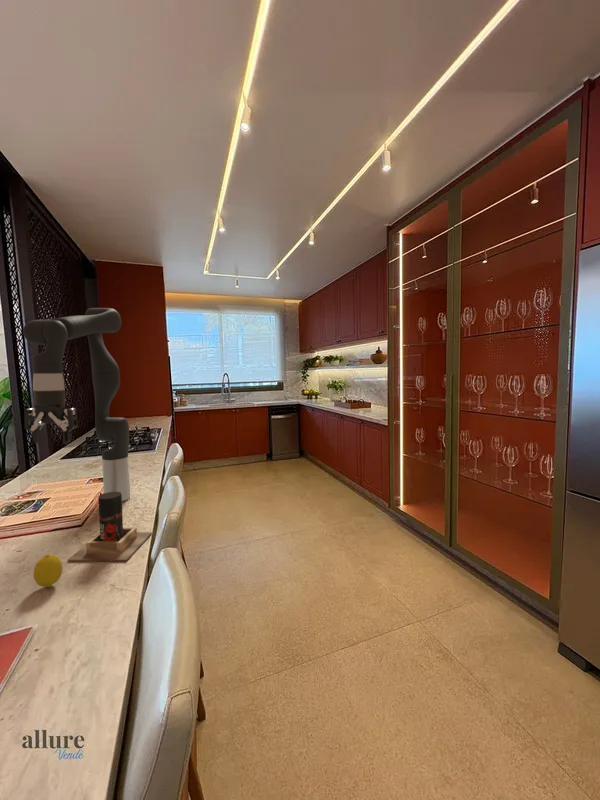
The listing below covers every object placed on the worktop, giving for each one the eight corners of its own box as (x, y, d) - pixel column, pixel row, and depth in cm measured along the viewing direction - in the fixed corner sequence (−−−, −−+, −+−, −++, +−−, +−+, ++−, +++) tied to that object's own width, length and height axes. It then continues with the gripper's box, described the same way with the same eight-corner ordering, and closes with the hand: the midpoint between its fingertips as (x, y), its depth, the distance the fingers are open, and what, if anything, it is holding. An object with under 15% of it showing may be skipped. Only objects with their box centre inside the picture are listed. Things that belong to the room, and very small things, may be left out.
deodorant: (127, 540, 104) (125, 492, 103) (115, 550, 98) (113, 499, 97) (109, 539, 105) (107, 491, 104) (95, 549, 99) (93, 498, 98)
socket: (101, 534, 110) (101, 523, 109) (151, 534, 110) (151, 523, 109) (67, 561, 94) (66, 548, 93) (126, 561, 94) (125, 549, 93)
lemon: (68, 582, 84) (66, 551, 84) (45, 596, 79) (43, 562, 79) (52, 578, 86) (50, 547, 86) (28, 591, 81) (26, 558, 80)
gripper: (81, 388, 106) (84, 440, 107) (35, 388, 106) (38, 440, 107) (64, 389, 98) (67, 445, 100) (14, 389, 98) (18, 445, 100)
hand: (52, 443), depth 103 cm, fingers open, 8 cm apart
